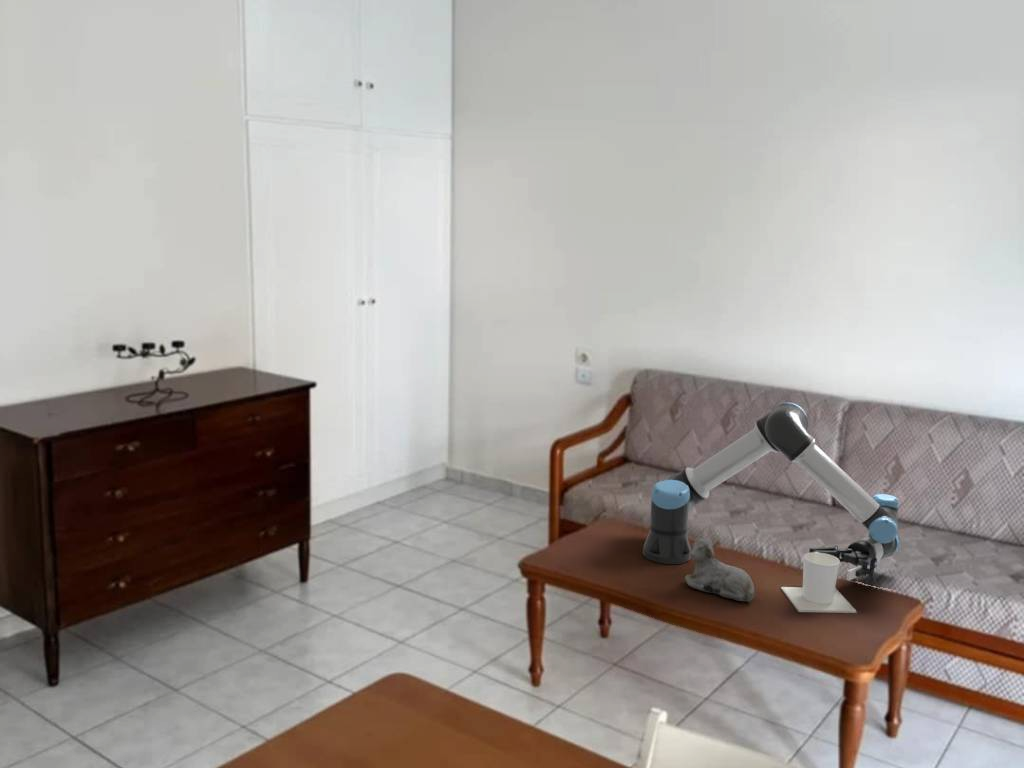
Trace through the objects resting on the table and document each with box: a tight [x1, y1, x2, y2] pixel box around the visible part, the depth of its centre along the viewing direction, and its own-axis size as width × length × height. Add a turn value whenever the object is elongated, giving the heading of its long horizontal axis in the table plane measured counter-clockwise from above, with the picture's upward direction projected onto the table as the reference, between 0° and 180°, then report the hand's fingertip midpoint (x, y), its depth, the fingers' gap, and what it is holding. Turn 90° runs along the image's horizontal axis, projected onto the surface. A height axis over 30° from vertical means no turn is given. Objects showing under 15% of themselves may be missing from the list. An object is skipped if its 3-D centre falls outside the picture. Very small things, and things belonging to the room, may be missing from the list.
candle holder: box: [802, 552, 841, 604], centre depth 265 cm, size 10×10×12 cm
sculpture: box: [684, 537, 755, 602], centre depth 269 cm, size 11×21×15 cm, turn 65°
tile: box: [780, 586, 857, 614], centre depth 266 cm, size 16×16×1 cm
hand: (826, 568), depth 266 cm, fingers open, 13 cm apart
